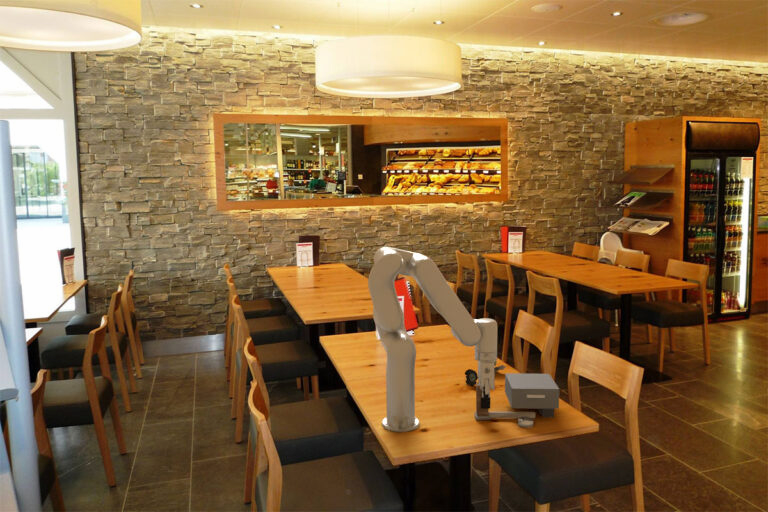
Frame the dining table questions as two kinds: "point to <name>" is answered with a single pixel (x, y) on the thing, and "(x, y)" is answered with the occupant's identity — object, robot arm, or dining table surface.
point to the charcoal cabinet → (532, 392)
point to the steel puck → (525, 422)
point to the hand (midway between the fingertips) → (485, 406)
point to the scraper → (486, 415)
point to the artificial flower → (472, 375)
